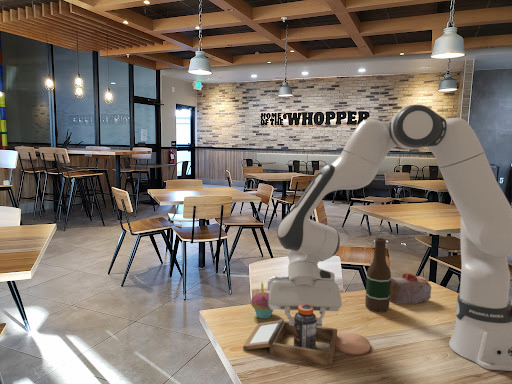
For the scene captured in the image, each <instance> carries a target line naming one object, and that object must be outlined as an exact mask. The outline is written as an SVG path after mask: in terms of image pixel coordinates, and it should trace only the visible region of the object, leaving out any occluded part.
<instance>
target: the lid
mask: <svg viewBox="0 0 512 384" xmlns="http://www.w3.org/2000/svg"><path fill="white" fill-rule="evenodd" d="M279 321H280V319H279V320H273V321H268V322H267V321H265V322H260V323H257V325H256V326H255V328H254V329H253V330H252V332H251V333H250V335H249V337H248V339H247V338H246V339H247V340H246V341H245V342H244V344H243V345H242V350H243V351H248V350H255V349H262V348H270V343H269V342H268V341H269V339H270V337H271V335H272V334H273V332H274V330H275V328H276V326H277V325H278V323H279Z"/></svg>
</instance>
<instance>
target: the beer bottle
mask: <svg viewBox="0 0 512 384" xmlns="http://www.w3.org/2000/svg"><path fill="white" fill-rule="evenodd" d="M374 243H375V245H374V253H373V259H372V263H371V264H370V265H369V267H367V271H366V280H365V281H366V283H365V285H366V286H365V299H364V300H365V308H366V309H368V310H369V311H371V312H375V313H386V312H387V311H388V310H389V309H390V302H391V301H390V283H391V278H392V272H391V269H390V266H389V265H388V264H387V259H386V258H387V256H386V251H387V249H386V243H387V239H386V238H382V237H378V238H375V239H374Z"/></svg>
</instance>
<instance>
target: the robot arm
mask: <svg viewBox="0 0 512 384" xmlns="http://www.w3.org/2000/svg"><path fill="white" fill-rule="evenodd" d="M349 136H350V137H349V138H348V140H347V142H346V143H345V145H344V146H343V150H342V151H341V153H340V154H339V155H338V156H337V158H336V159H335V160H334V161H333V162H332V163H330V164H327V165H324V166H323V167H321V168H320V169H319V171H318V172H317V173H316V174H315V176H314V177H313V178H312V180H310V183H309V184H308V185H307V187H306V188H305V190H304V191H303V192H302V194H301V196H300V197H299V198H298V199H297V201H296V202H295V204H294V205H293V206H292V208H291V209H290V211H289V212H288V213H287V214H286V215H285V216H284V217H283V218H282V220H281V221H280V222H279V224H278V227H277V233H276V236H277V238H278V239H277V240H278V241H279V243H280V245H281V246H282V248H284V249H285V250H287V257H288V260H289V262H288V267H287V268H288V269H287V273H288V274H287V275H288V276H273V277H270V279H268V281H267V290H268V291H269V302H268V306H269V307H270V308H271V309H273V310H280V311H281V310H283V311H284V315H285V316H286V318H287V319H288V322H289V325H295V321H294V320H295V316H292V315H291V311H298V307H299V306H300V305H303V304H307V305H311V306H312V307H313V312H314V311H316V312H317V311H318V314H319V315H320V316H319V317H316V326H321V327H323V318H324V316H325V314H326V312H338V311H340V309H341V308H342V306H343V305H342V304H343V303H342V296H341V290H340V288H339V286H338V284H337V282H336V281H335V280H336V279H335V278H336V276H335V273H334V272H332V271H329V270H325V269H323V268H320V267H319V265H318V264H319V262H324V261H326V260H328V259H330V258H332V257H333V256H335V255H336V254H337V253H338V252H339V249H340V246H341V245H340V244H341V241H340V240H341V238H340V234H339V232H338V230H337V228H334V227H332V226H329V225H327V224H325V223H323V222H318V221H315V220H312V219H309V218H310V217H311V215H312V214H313V213H314V211H315V209H316V208H317V207H318V206H319V204H320V203H321V201H322V200H323V199H324V197H325V196H326V195H328V194H330V193H332V192H335V191H341V190H342V191H343V190H351V191H352V190H358V189H361V188H364V187H367V186H368V185H370V184H371V183H372V181H373V180H374V179H375V177H376V176H377V174H378V171H379V169H380V167H382V164H383V162H384V160H385V158H386V156H387V155H388V153H389V152H390V151H391V150H392V149H398V150H406V151H410V150H411V151H414V150H417V149H420V148H426V149H427V150H429V151H430V152H431V154H432V155H433V156H434V158H435V161H436V163H437V167H438V169H439V171H440V174H441V175H442V179H443V182H444V184H445V187H446V188H447V190H448V193H449V194H448V195H450V198H451V199H452V201H453V203H454V205H455V207H456V209H457V211H458V213H459V215H460V221H459V222H460V223H459V225H460V226H459V227H460V231H459V232H460V234H459V235H460V236H459V238H460V260H461V271H460V274H461V275H460V285H459V294H458V295H457V300H456V304H455V305H456V306H455V316H456V320H455V324H454V327H453V328H454V329H453V331H452V334H451V337H450V339H449V340H448V346H449V347H450V349H451V350H453V352H455V353H456V354H458V355H459V356H461V357H462V358H464V359H467V360H470V361H472V362H473V363H476V364H477V365H478V366H480V367H482V368H483V369H486V370H490V371H491V370H495V371H507V372H512V304H511V303H510V302H509V296H510V295H509V294H510V284H511V271H510V268H509V263H508V257H510V256H511V257H512V206H511V204H510V202H509V201H508V200H509V199H507V197H506V195H505V193H504V191H503V190H502V188H501V187H500V185H499V183H498V181H497V179H496V177H495V175H494V172H493V169H492V168H491V167H492V166H491V165H490V162H489V160H488V157H487V155H486V152H485V150H484V148H483V146H482V144H481V142H480V139H479V138H478V136H477V134H476V133H475V131H474V129H473V128H472V127H471V125H470V124H469V122H468V121H467V120H465V119H464V118H461V117H449V118H447V119H445V118H444V117H442V116H441V115H439V114H438V113H437V112H435V111H434V110H433V109H432V108H430V107H428V106H426V105H423V104H410V105H408V106H405V107H403V108H402V109H401V110H399V111H398V112H396V114H395V115H394V116H393V117H392V118H391V119H389V120H388V121H382V120H379V119H376V118H367V119H364V120H362V121H360V123H358V125H357V126H356V128H355V129H354V130H353V132H352V133H351V135H349Z"/></svg>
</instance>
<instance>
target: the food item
mask: <svg viewBox="0 0 512 384" xmlns="http://www.w3.org/2000/svg"><path fill="white" fill-rule="evenodd" d="M432 288H433V287H432V285H431V284H430V282H429V281H428V280H427V279H426V278H425V277H423V276H420V275H418V276H417V275H413V273H412V274H411V273H407V272H406V273H403V274H402V277H399V276H398V277H391V283H390V301H389V302H391V303H393V304H394V305H404V304H409V305H415V304H417V303H418V304H419V303H424V302H427V301H429V300H430V299H431V296H432V295H431V293H432Z"/></svg>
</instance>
